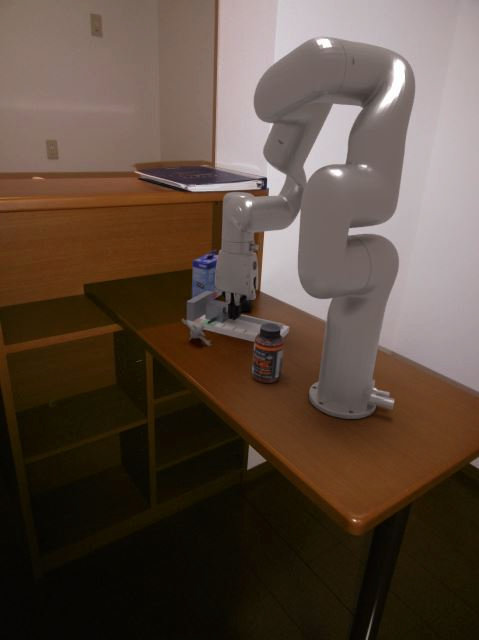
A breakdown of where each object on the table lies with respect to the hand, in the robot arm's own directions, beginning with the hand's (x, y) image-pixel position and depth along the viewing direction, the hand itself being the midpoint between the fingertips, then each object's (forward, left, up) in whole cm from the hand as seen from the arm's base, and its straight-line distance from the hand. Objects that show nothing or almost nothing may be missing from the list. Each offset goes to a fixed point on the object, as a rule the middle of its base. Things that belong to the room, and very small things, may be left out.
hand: (234, 317), depth 115 cm
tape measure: (+4, -14, -3) cm, 15 cm away
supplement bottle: (-17, +19, -3) cm, 26 cm away
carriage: (+5, +2, -1) cm, 5 cm away
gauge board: (-1, 0, -3) cm, 3 cm away
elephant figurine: (+4, +12, -3) cm, 13 cm away
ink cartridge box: (+17, -16, -3) cm, 23 cm away
